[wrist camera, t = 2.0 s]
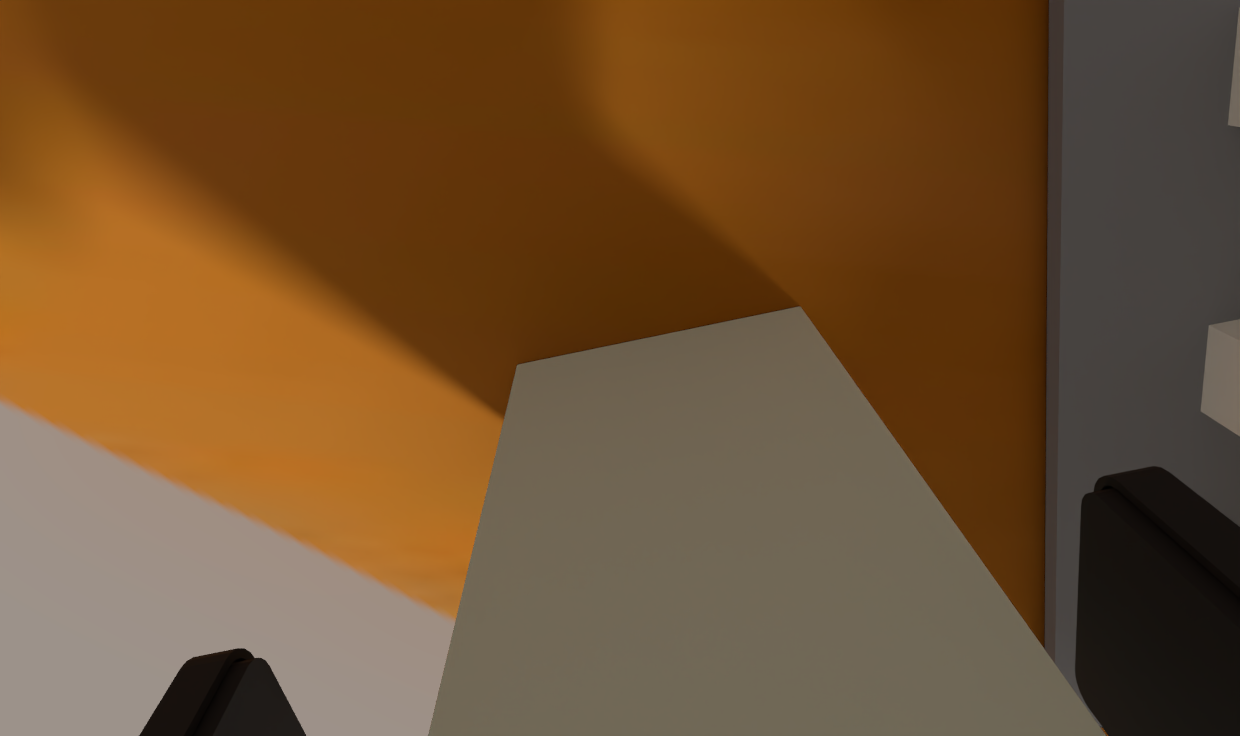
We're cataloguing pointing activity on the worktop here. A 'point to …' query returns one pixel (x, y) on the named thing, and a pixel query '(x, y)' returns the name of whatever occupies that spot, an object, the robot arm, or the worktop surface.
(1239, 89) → the domino
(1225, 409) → the domino
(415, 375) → the worktop surface
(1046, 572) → the mat
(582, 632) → the domino
